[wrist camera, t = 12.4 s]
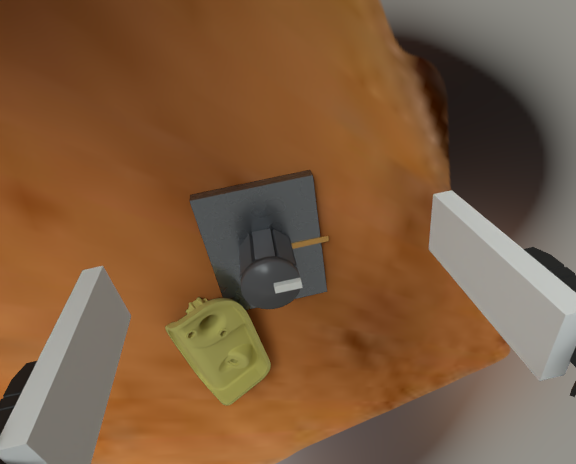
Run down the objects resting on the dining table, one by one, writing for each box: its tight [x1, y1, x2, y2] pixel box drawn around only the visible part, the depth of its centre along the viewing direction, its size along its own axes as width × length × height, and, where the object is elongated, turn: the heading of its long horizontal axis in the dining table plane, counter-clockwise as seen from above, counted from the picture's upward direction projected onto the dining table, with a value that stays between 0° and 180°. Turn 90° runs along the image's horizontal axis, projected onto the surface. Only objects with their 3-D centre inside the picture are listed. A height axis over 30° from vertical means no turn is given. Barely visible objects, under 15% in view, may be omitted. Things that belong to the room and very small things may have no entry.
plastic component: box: [165, 297, 271, 405], centre depth 52 cm, size 20×7×10 cm
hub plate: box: [190, 170, 329, 310], centre depth 44 cm, size 18×15×6 cm
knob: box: [238, 228, 302, 309], centre depth 42 cm, size 7×7×7 cm
